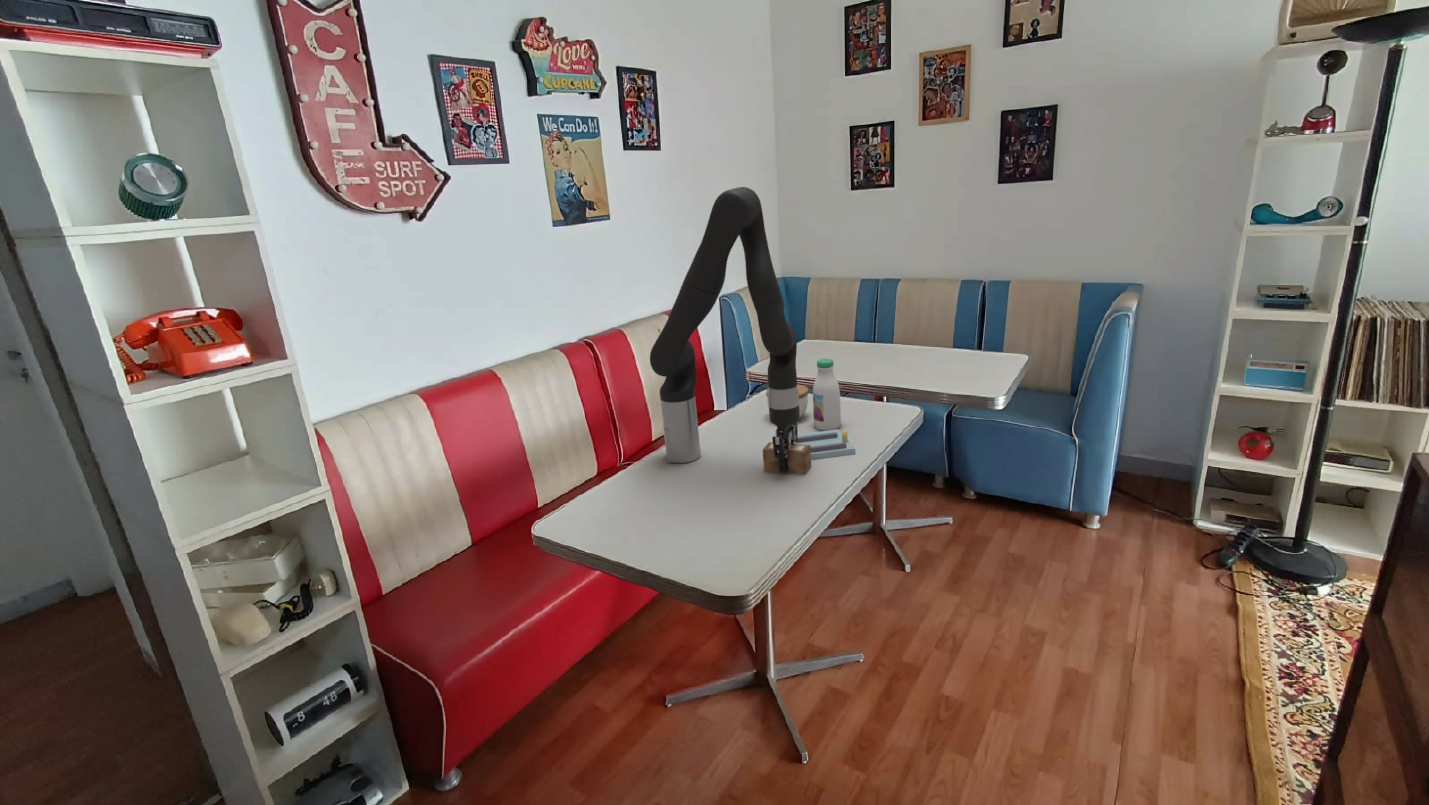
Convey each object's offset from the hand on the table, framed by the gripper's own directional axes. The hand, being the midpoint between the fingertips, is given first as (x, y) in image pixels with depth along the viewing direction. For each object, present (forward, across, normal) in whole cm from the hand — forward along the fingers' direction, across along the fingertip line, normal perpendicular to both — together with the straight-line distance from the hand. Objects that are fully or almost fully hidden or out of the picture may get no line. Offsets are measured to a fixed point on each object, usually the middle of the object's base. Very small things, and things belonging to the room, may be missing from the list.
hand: (787, 465), depth 176 cm
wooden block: (+1, 0, 0) cm, 1 cm away
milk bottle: (+1, +31, -3) cm, 31 cm away
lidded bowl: (+1, +36, +10) cm, 38 cm away
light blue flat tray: (+1, +15, -4) cm, 16 cm away
